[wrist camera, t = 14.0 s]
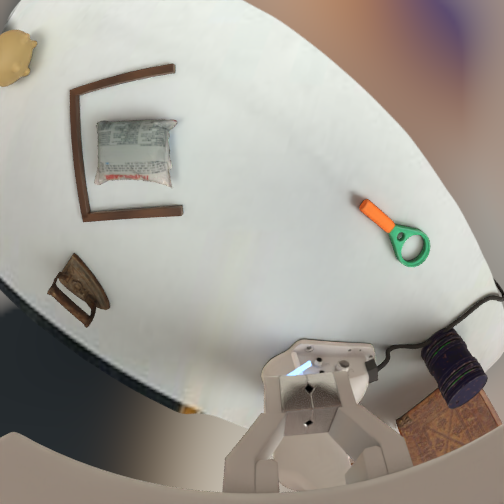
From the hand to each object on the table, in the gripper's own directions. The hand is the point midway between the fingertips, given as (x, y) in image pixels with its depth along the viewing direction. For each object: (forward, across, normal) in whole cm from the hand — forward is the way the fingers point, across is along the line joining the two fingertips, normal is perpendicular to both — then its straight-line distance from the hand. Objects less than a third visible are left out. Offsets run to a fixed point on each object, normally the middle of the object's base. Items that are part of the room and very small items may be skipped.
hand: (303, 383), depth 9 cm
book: (+29, +49, -55) cm, 79 cm away
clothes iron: (+29, -31, -14) cm, 45 cm away
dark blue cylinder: (+29, +38, -31) cm, 57 cm away
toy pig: (+29, -40, +28) cm, 57 cm away
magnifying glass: (+29, +19, -5) cm, 35 cm away
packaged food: (+29, -17, +7) cm, 35 cm away
